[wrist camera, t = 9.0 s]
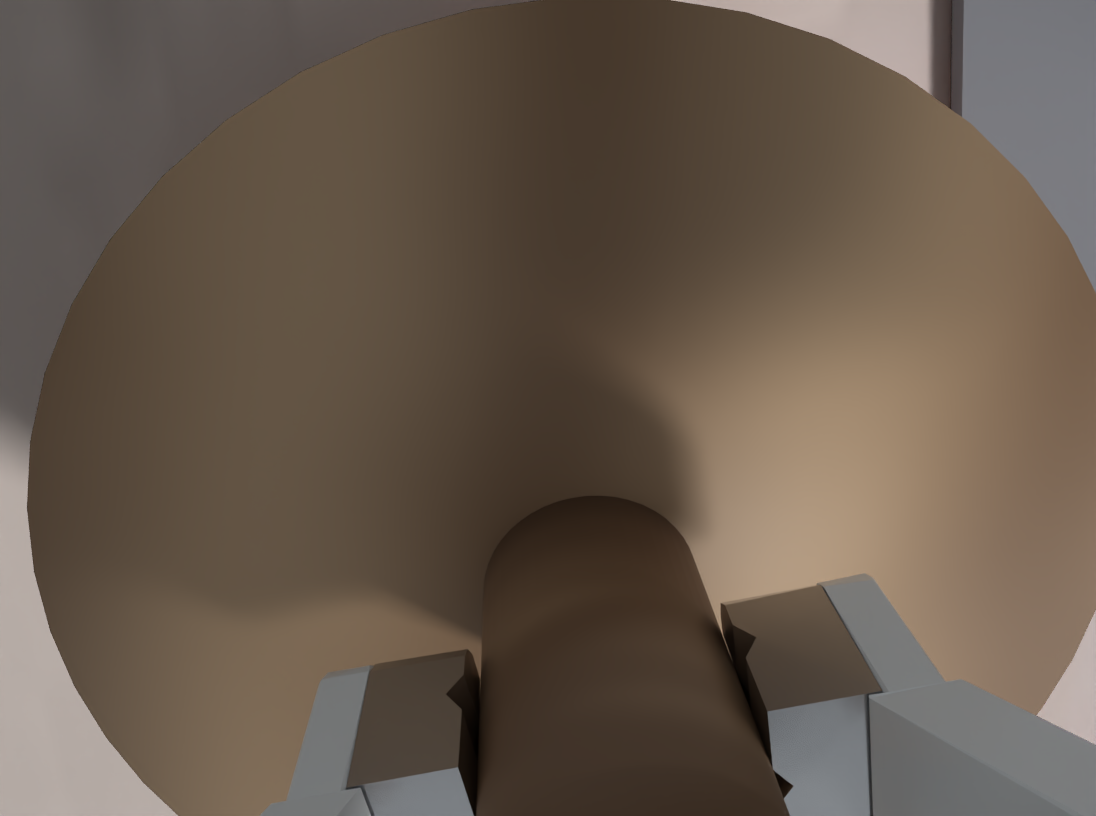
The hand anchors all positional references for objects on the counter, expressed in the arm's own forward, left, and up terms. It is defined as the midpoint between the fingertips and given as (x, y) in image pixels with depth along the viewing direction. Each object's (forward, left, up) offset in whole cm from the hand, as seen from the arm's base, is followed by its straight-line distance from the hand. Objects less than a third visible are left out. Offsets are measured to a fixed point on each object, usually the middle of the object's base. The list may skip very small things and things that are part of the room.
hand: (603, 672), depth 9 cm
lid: (0, 0, -2) cm, 3 cm away
